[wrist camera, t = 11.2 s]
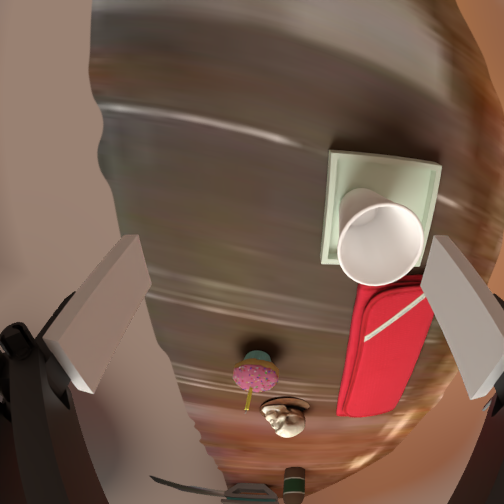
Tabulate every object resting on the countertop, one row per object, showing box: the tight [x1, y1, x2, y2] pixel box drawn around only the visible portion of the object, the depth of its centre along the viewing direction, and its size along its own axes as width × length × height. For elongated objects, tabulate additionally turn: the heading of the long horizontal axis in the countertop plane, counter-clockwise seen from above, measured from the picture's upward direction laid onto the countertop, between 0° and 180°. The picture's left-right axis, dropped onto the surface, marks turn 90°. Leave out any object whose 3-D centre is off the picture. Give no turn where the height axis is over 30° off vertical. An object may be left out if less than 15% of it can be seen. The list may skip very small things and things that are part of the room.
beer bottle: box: [283, 467, 305, 504], centre depth 79 cm, size 8×8×24 cm
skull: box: [260, 398, 310, 437], centre depth 64 cm, size 12×10×10 cm
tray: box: [320, 150, 442, 267], centre depth 38 cm, size 16×16×2 cm
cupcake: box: [233, 350, 279, 414], centre depth 51 cm, size 9×8×12 cm
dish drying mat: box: [336, 275, 434, 417], centre depth 53 cm, size 16×41×4 cm, turn 6°
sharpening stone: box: [221, 483, 279, 504], centre depth 100 cm, size 25×8×11 cm, turn 100°
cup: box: [337, 188, 424, 286], centre depth 34 cm, size 10×10×11 cm
